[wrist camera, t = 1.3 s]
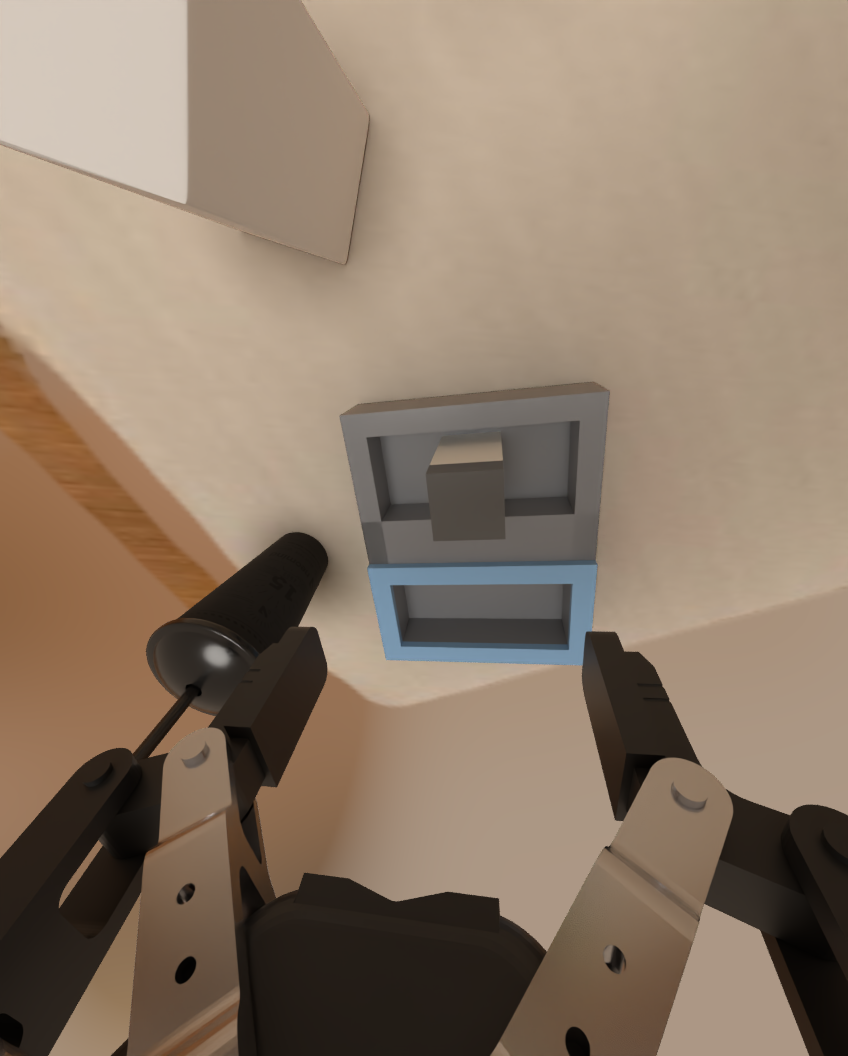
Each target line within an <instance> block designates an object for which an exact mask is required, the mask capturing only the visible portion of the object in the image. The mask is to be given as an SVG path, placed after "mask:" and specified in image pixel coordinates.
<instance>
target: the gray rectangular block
mask: <svg viewBox="0 0 848 1056" xmlns="http://www.w3.org/2000/svg"><path fill="white" fill-rule="evenodd" d="M426 482H427V491H428V499H429V508H430V516H431V525H432V533H433V541H463V540H498V539H506V538H505V503H504V469H503V455H502V441H501V431H500V432H487V433H474V434H461V435H448V436H442V438H441V440H440V443H439V445H438V447H437V449H436V452H435V454H434V456H433V458H432V461H431V463H430V465H429V467H428V470H427V472H426Z"/></svg>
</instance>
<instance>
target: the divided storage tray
mask: <svg viewBox="0 0 848 1056" xmlns="http://www.w3.org/2000/svg"><path fill="white" fill-rule="evenodd" d="M609 394H610V391H609V390H607V389H605V388H604V387H602V386H600V385H598V384H597V383H595V382H587V383H576V384H566V385H555V386H545V387H534V388H524V389H513V390H503V391H493V392H482V393H472V394H461V395H451V396H440V397H430V398H419V399H409V400H398V401H388V402H377V403H367V404H358V405H356V406H355V407H353V408H351V409H350V410H348V411H346V412H345V413H343V414H342V415H340V421H341V426H342V431H343V436H344V441H345V446H346V451H347V456H348V461H349V465H350V470H351V475H352V480H353V485H354V490H355V495H356V500H357V505H358V510H359V515H360V520H361V525H362V530H363V535H364V540H365V545H366V549H367V554H368V559H369V566H368V568H367V570H368V574H369V579H370V584H371V589H372V594H373V599H374V603H375V608H376V613H377V618H378V623H379V628H380V633H381V637H382V642H383V647H384V652H385V657H386V660H408V661H444V662H480V663H516V664H552V665H583V654H584V642H585V634H586V632H587V631H590V632H592V622H593V610H594V599H595V588H596V576H597V563H596V548H597V536H598V524H599V512H600V501H601V489H602V477H603V465H604V453H605V441H606V430H607V418H608V406H609ZM500 431H501V441H502V455H503V469H504V503H505V538H506V539H498V540H463V541H433V533H432V525H431V516H430V508H429V499H428V491H427V482H426V472H427V470H428V467H429V465H430V463H431V461H432V458H433V456H434V454H435V452H436V449H437V447H438V445H439V443H440V440H441V438H442V436H448V435H461V434H474V433H487V432H500Z"/></svg>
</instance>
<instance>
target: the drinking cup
mask: <svg viewBox="0 0 848 1056" xmlns="http://www.w3.org/2000/svg"><path fill="white" fill-rule="evenodd" d="M327 564H328V558H327V554H326V551H325V549H324V548H323V546H322V545H321V544H320V543H319V542H318V541H317V540H316V539H314V538H313V537H311V536H309V535H307V534H304V533H289V534H286V535H284V536H283V537H281V538H280V539H279V540H278V541H276V542H275V543H274V544H272V545H271V546H270V547H269V548H267V549H266V550H265V551H264V552H262V553H261V554H260V555H258V556H257V557H256V558H255V559H253V560H252V561H251V562H249V563H248V564H247V565H246V566H244V567H243V568H242V569H240V570H239V571H238V572H237V573H235V574H234V575H233V576H232V577H230V578H229V579H228V580H226V581H225V582H224V583H223V584H221V585H220V586H219V587H217V588H216V589H215V590H214V591H212V592H211V593H210V594H209V595H207V596H206V597H205V598H203V599H202V600H201V601H200V602H198V603H197V604H196V605H194V606H193V607H192V608H191V609H189V610H188V611H187V612H185V613H184V614H183V615H182V616H180V617H179V618H178V619H176V620H172V621H170V622H167V623H165V624H164V625H162V626H161V627H159V628H158V629H157V630H156V631H155V632H154V633H153V634H152V635H151V637H150V639H149V641H148V644H147V648H146V656H147V660H148V664H149V666H150V669H151V671H152V672H153V674H154V676H155V677H156V679H157V680H158V681H159V683H160V684H161V685H162V686H163V687H164V688H165V689H166V690H167V691H168V692H169V693H170V694H172V695H173V696H174V697H175V698H177V699H178V700H177V701H176V703H175V704H174V705H173V706H172V707H171V709H170V710H169V711H168V712H167V714H166V715H165V716H164V717H163V718H162V719H161V721H160V722H159V723H158V724H157V726H156V727H155V728H154V729H153V730H152V732H151V733H150V734H149V735H148V736H147V738H146V739H145V740H144V741H143V742H142V744H141V745H140V746H139V747H138V748H137V749H136V751H135V752H134V753H133V756H134V757H135V759H136V760H141V759H146V758H148V757H149V756H150V755H151V753H152V752H153V751H154V750H155V748H156V747H157V746H158V744H159V743H160V742H161V741H162V739H163V738H164V737H165V735H166V734H167V733H168V732H169V731H170V729H171V728H172V727H173V725H174V724H175V723H176V722H177V720H178V719H179V718H180V717H181V715H182V714H183V713H184V712H185V710H186V709H187V708H188V707H189V706H190V707H191V708H193V709H196V710H198V711H200V712H203V713H206V714H209V715H213V716H216V715H217V714H218V713H219V711H220V710H221V708H222V707H223V705H224V704H225V703H226V701H227V700H228V698H229V697H230V695H231V694H232V693H233V691H234V690H235V688H236V687H237V685H238V684H239V683H241V680H242V678H243V677H244V675H245V674H246V673H247V672H249V668H250V667H251V665H252V664H253V663H254V661H255V660H256V658H257V657H258V655H259V654H261V653H262V652H263V651H264V650H266V649H267V648H268V647H269V646H270V645H272V644H273V643H279V641H280V640H281V638H282V637H283V635H284V634H285V632H286V631H287V630H288V628H290V627H298V626H299V624H300V622H301V620H302V618H303V615H304V613H305V611H306V609H307V607H308V605H309V603H310V601H311V599H312V597H313V595H314V593H315V591H316V589H317V587H318V585H319V583H320V581H321V578H322V576H323V574H324V572H325V570H326V568H327Z"/></svg>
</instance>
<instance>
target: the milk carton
mask: <svg viewBox="0 0 848 1056" xmlns="http://www.w3.org/2000/svg"><path fill="white" fill-rule="evenodd" d="M368 125H369V114H368V112H367V110H366V108H365V107H364V105H363V103H362V102H361V100H360V98H359V97H358V95H357V93H356V92H355V90H354V88H353V87H352V85H351V83H350V82H349V80H348V78H347V76H346V75H345V73H344V71H343V70H342V68H341V66H340V65H339V63H338V61H337V60H336V58H335V56H334V55H333V53H332V51H331V50H330V48H329V46H328V45H327V43H326V41H325V40H324V38H323V36H322V35H321V33H320V31H319V30H318V28H317V26H316V25H315V23H314V21H313V20H312V18H311V16H310V15H309V13H308V11H307V10H306V8H305V6H304V5H303V3H302V1H301V0H0V145H2V146H5V147H8V148H11V149H14V150H16V151H19V152H22V153H25V154H28V155H30V156H33V157H36V158H39V159H42V160H44V161H47V162H50V163H53V164H55V165H58V166H61V167H64V168H67V169H69V170H72V171H75V172H78V173H81V174H83V175H86V176H89V177H92V178H95V179H97V180H100V181H103V182H106V183H109V184H111V185H114V186H117V187H120V188H122V189H125V190H128V191H131V192H134V193H136V194H139V195H142V196H145V197H148V198H150V199H153V200H156V201H159V202H162V203H164V204H167V205H170V206H173V207H176V208H178V209H181V210H184V211H187V212H189V213H192V214H195V215H198V216H201V217H203V218H206V219H209V220H212V221H215V222H217V223H220V224H223V225H226V226H229V227H231V228H234V229H237V230H240V231H243V232H246V233H249V234H252V235H255V236H258V237H261V238H264V239H267V240H270V241H273V242H276V243H279V244H283V245H286V246H289V247H292V248H295V249H298V250H301V251H304V252H307V253H310V254H313V255H316V256H319V257H322V258H325V259H328V260H331V261H334V262H337V263H340V264H345V263H346V261H347V257H348V251H349V245H350V239H351V232H352V226H353V220H354V213H355V207H356V201H357V195H358V188H359V182H360V176H361V170H362V163H363V157H364V151H365V144H366V138H367V132H368Z"/></svg>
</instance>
